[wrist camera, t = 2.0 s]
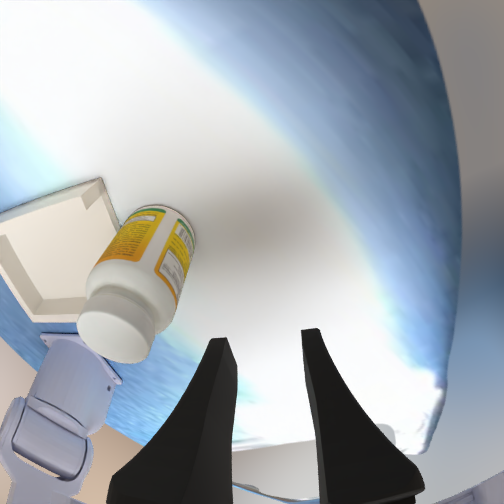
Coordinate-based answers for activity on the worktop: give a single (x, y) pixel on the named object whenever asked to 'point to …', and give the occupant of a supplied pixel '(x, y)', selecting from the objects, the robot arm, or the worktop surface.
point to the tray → (56, 249)
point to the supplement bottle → (136, 284)
